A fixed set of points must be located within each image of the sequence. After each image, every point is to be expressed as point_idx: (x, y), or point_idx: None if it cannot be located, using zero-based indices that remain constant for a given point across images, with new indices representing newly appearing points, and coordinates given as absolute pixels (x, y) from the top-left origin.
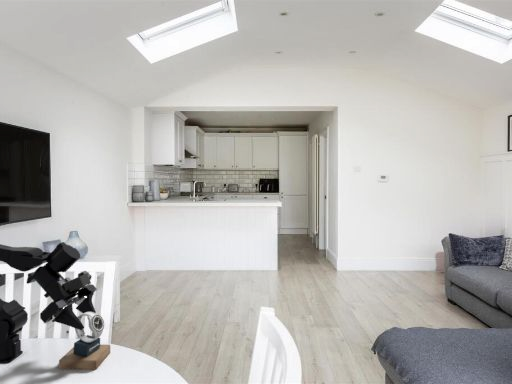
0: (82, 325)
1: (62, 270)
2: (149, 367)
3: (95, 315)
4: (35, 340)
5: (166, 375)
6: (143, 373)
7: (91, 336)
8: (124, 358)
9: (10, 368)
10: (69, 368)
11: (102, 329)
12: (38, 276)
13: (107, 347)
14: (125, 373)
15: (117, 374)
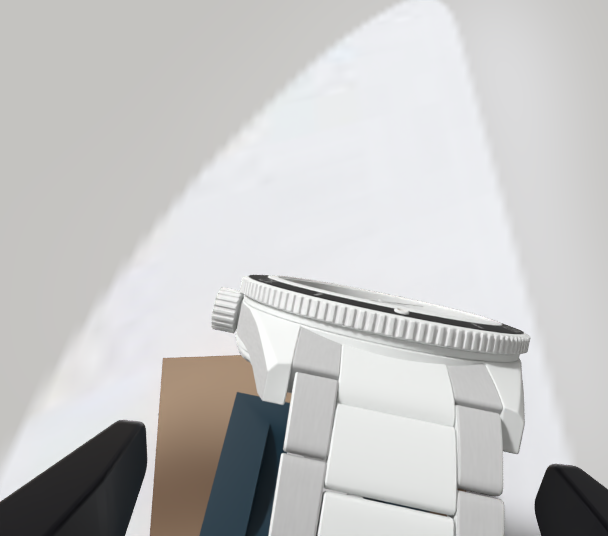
0: (597, 489)
1: None
2: (358, 99)
3: (393, 311)
4: None
5: (421, 23)
6: (421, 108)
7: (219, 502)
8: (261, 249)
9: None
10: None
11: (338, 287)
12: None
13: (218, 357)
14: (436, 185)
15: (454, 220)
